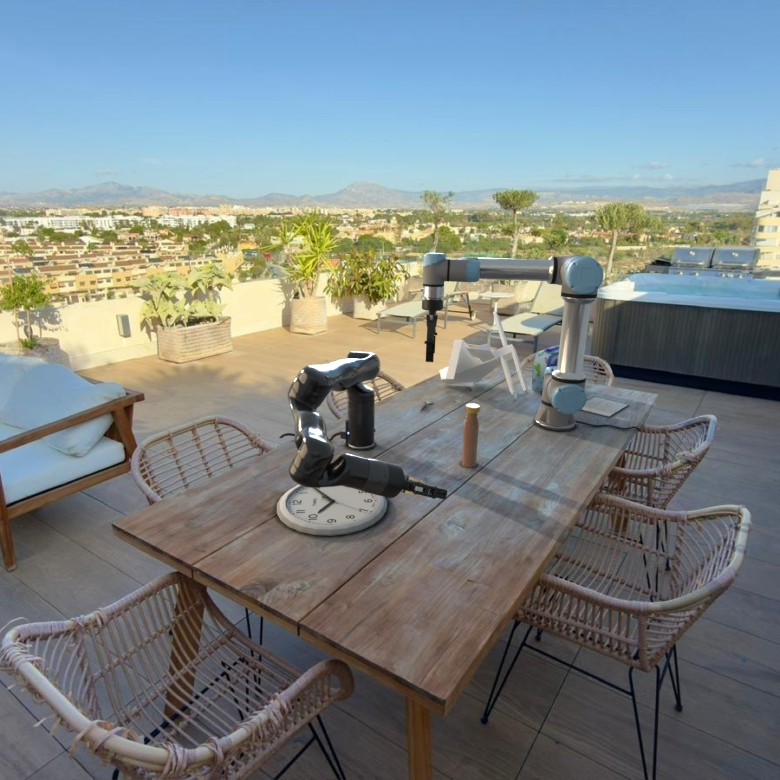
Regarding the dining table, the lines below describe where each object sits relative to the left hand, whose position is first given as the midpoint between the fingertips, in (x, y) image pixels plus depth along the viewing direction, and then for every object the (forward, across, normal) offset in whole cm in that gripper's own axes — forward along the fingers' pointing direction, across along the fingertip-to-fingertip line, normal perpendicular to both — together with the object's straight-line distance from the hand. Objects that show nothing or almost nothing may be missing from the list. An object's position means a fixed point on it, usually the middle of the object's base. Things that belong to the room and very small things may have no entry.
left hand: (434, 491), depth 123 cm
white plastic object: (+80, +87, -45) cm, 126 cm away
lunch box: (+110, +73, -55) cm, 143 cm away
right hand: (+27, +56, -44) cm, 75 cm away
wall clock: (-9, +30, +12) cm, 34 cm away
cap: (+27, +27, -27) cm, 47 cm away
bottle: (+35, +31, -9) cm, 48 cm away
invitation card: (+113, +46, -50) cm, 132 cm away
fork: (+50, +83, -30) cm, 101 cm away
